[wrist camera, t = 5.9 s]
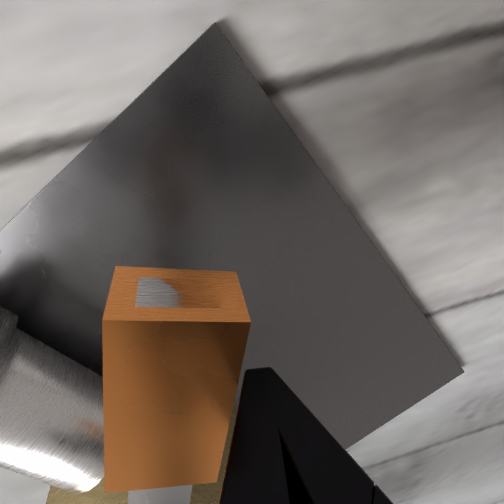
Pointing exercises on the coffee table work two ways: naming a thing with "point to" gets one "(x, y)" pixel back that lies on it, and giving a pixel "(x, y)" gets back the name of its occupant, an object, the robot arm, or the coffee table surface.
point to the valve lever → (169, 378)
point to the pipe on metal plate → (199, 258)
